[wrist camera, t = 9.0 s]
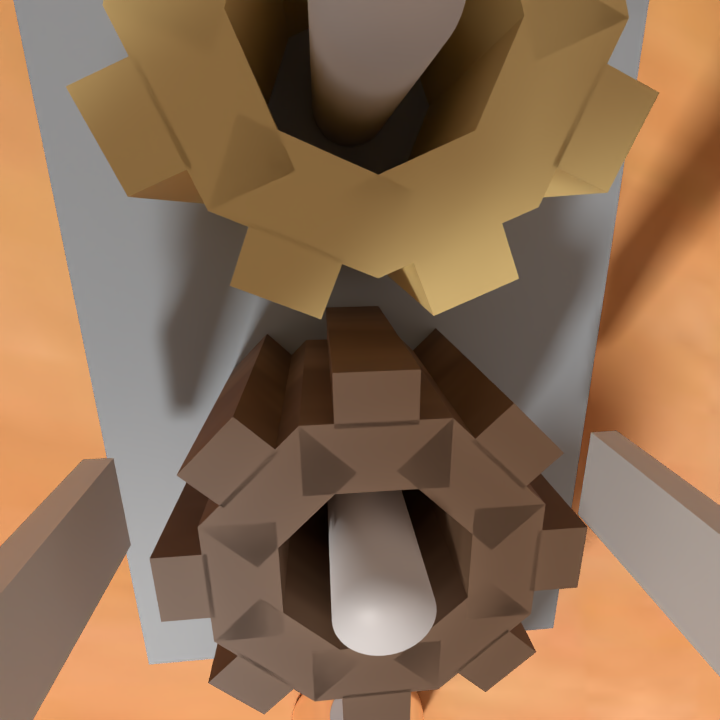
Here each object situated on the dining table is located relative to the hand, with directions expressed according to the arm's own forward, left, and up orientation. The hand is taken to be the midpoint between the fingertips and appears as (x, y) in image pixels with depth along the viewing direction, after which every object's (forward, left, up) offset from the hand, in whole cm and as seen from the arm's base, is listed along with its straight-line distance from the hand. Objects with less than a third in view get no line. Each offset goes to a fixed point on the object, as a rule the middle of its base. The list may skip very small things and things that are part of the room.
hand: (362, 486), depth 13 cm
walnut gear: (0, 0, -3) cm, 3 cm away
